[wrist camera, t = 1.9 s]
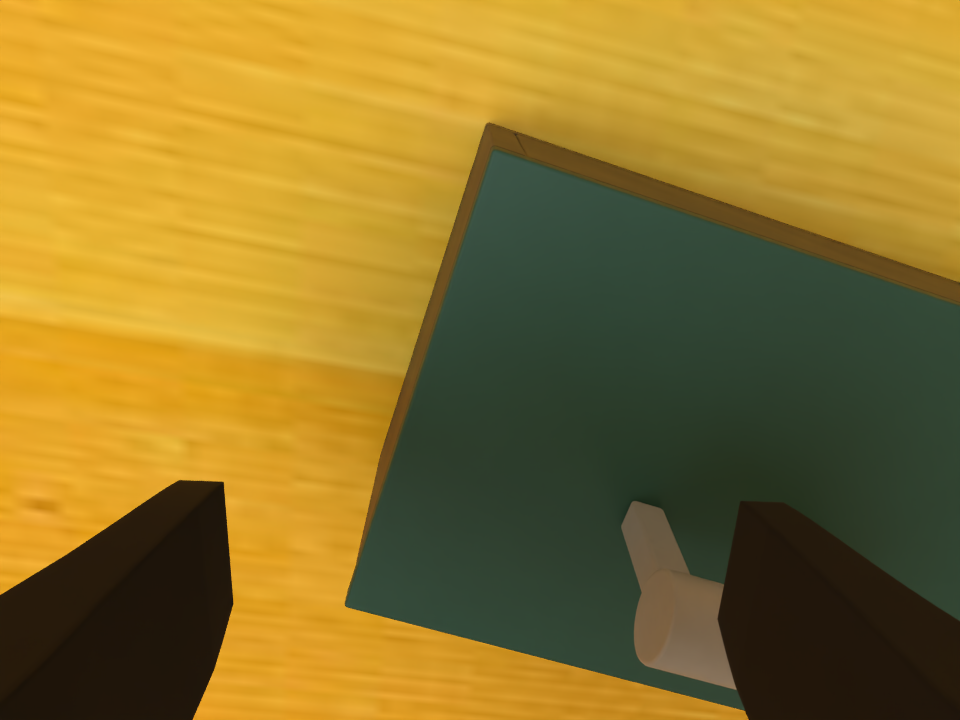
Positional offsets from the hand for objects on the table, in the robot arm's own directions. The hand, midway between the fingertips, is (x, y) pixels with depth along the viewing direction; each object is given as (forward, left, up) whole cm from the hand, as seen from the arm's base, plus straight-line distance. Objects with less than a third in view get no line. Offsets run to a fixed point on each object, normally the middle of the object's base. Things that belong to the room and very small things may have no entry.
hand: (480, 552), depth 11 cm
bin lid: (-5, -4, -5) cm, 8 cm away
